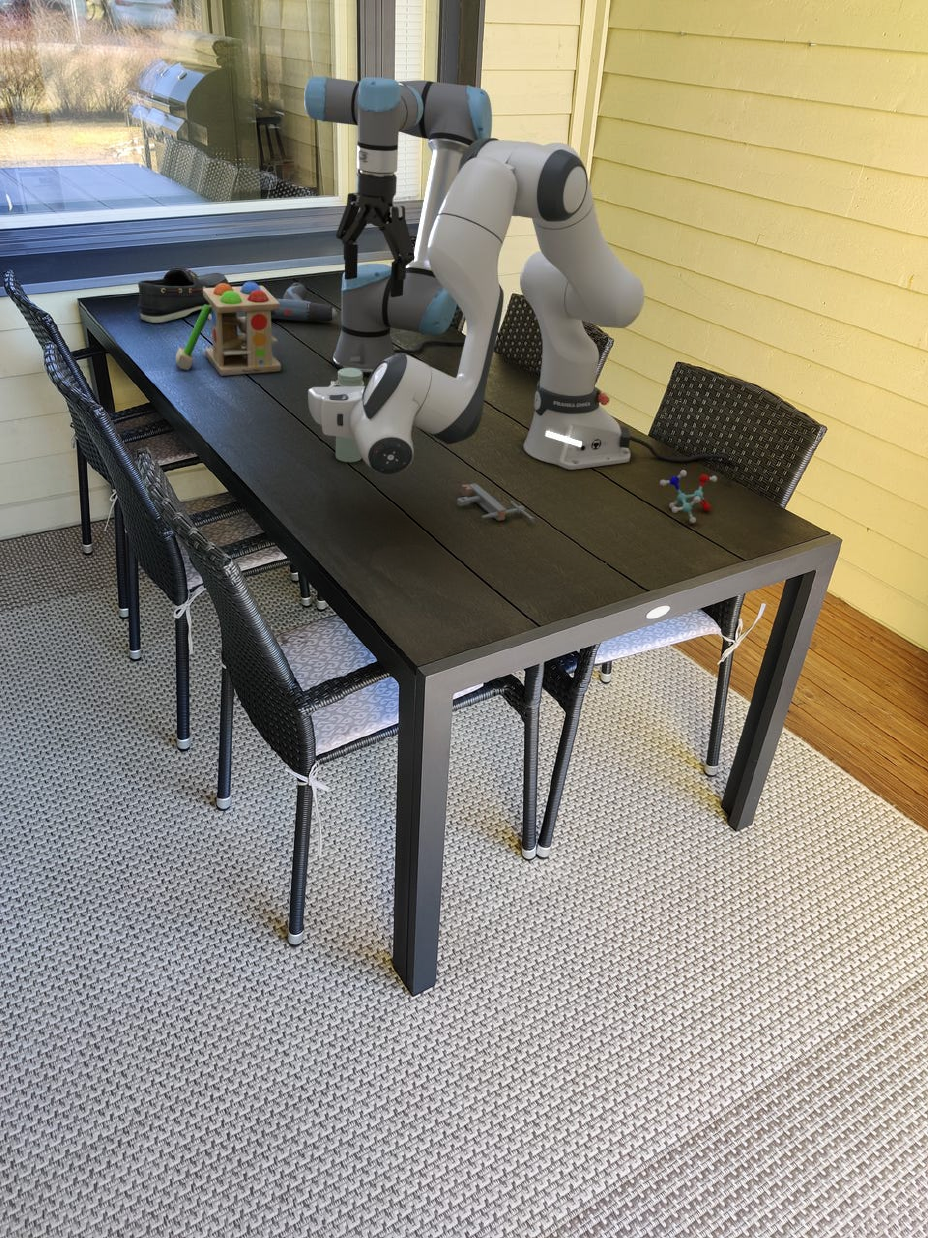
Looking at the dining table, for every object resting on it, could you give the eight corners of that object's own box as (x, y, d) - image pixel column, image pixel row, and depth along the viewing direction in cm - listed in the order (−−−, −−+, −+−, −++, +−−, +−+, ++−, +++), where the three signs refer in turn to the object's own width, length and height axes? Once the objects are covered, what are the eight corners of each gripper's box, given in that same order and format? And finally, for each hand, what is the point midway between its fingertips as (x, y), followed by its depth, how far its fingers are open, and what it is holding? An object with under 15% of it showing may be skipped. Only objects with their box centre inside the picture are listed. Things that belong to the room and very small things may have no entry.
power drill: (344, 304, 276) (335, 327, 259) (277, 298, 275) (264, 321, 258) (344, 285, 273) (335, 306, 256) (277, 279, 272) (264, 300, 255)
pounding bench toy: (183, 379, 220) (176, 299, 210) (169, 357, 231) (162, 280, 221) (282, 371, 230) (280, 294, 220) (264, 350, 240) (262, 276, 230)
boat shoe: (248, 301, 272) (246, 262, 267) (158, 325, 248) (153, 283, 243) (214, 293, 278) (211, 255, 272) (123, 315, 254) (117, 274, 248)
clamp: (448, 487, 182) (493, 478, 187) (447, 497, 184) (492, 489, 188) (489, 523, 172) (536, 514, 177) (488, 534, 173) (535, 524, 178)
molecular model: (721, 517, 179) (705, 464, 177) (670, 531, 182) (655, 480, 181) (726, 508, 189) (711, 458, 188) (678, 522, 193) (663, 473, 191)
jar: (346, 448, 198) (348, 365, 188) (367, 456, 196) (369, 372, 186) (330, 456, 194) (330, 371, 185) (350, 464, 192) (352, 379, 182)
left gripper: (318, 160, 188) (318, 273, 200) (408, 187, 175) (402, 306, 186) (348, 158, 193) (346, 268, 205) (437, 183, 179) (430, 300, 191)
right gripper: (435, 396, 165) (418, 366, 176) (313, 399, 161) (304, 368, 171) (433, 431, 169) (417, 399, 180) (314, 435, 164) (304, 402, 175)
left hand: (373, 287), depth 196 cm, fingers open, 13 cm apart
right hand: (361, 384), depth 176 cm, fingers open, 8 cm apart
